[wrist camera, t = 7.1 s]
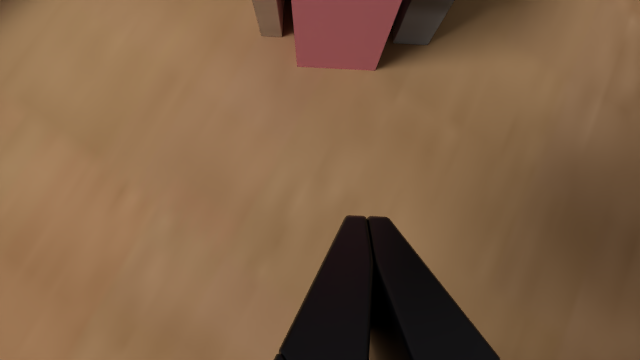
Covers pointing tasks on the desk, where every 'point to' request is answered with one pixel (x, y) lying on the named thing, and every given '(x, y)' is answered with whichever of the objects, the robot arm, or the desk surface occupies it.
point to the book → (342, 32)
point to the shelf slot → (409, 25)
